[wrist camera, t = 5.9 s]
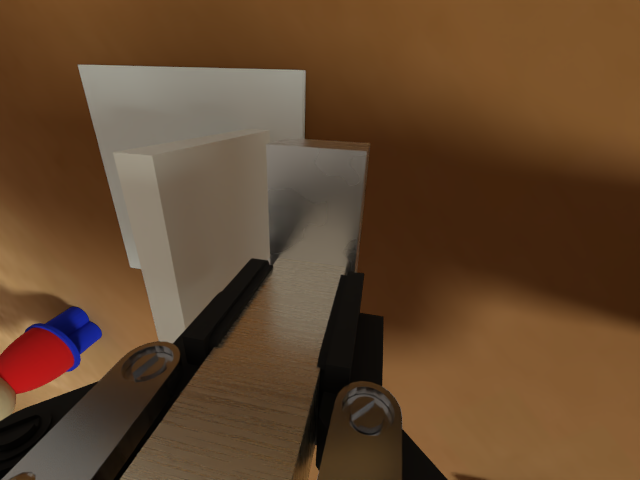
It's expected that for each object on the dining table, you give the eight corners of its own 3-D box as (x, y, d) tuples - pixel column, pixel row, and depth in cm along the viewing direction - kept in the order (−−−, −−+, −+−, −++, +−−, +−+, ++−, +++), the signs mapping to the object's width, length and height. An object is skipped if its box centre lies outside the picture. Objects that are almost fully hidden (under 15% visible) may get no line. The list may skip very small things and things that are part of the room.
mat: (305, 70, 18) (303, 70, 18) (302, 290, 25) (300, 293, 25) (84, 65, 21) (77, 64, 21) (134, 264, 28) (130, 267, 27)
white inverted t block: (370, 143, 10) (286, 329, 2) (347, 359, 14) (290, 721, 6) (286, 137, 11) (-94, 262, 2) (288, 348, 15) (157, 667, 6)
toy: (37, 309, 33) (-198, 446, 20) (74, 285, 31) (-170, 426, 17) (86, 359, 35) (-97, 514, 22) (126, 341, 33) (-57, 507, 19)
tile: (269, 130, 20) (152, 155, 10) (273, 252, 23) (191, 358, 14) (245, 128, 20) (107, 151, 10) (252, 249, 24) (157, 351, 14)
